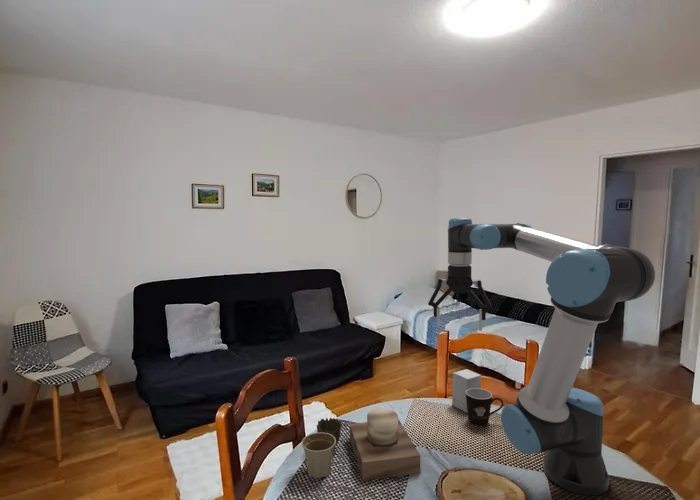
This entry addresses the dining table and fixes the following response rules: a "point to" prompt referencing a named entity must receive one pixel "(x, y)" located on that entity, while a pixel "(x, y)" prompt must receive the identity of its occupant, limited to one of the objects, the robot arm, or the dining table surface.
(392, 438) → the peg
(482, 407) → the coffee mug
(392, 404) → the dining table surface
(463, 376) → the supplement box
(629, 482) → the dining table surface
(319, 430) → the dark green spiky plant
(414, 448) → the board
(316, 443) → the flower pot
